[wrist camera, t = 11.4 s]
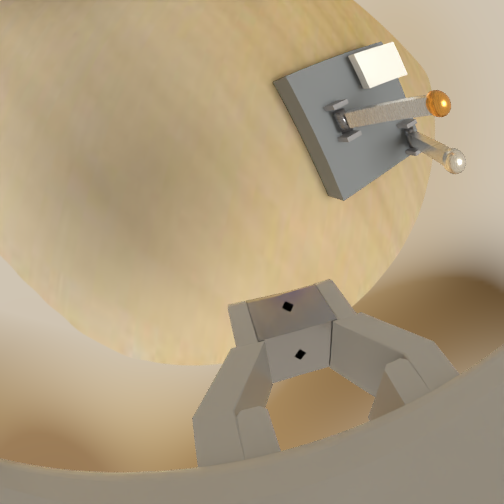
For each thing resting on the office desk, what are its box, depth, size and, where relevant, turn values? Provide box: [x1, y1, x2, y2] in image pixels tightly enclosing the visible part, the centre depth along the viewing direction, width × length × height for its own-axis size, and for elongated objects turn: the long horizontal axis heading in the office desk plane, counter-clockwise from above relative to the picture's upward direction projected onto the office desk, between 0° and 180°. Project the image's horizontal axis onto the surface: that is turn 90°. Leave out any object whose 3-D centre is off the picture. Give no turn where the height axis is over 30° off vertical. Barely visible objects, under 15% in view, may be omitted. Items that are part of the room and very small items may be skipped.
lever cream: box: [403, 126, 466, 174], centre depth 32 cm, size 3×3×15 cm
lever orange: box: [333, 90, 451, 134], centre depth 29 cm, size 3×3×15 cm
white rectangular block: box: [348, 42, 407, 89], centre depth 31 cm, size 5×7×2 cm
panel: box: [273, 42, 421, 201], centre depth 36 cm, size 18×18×6 cm
